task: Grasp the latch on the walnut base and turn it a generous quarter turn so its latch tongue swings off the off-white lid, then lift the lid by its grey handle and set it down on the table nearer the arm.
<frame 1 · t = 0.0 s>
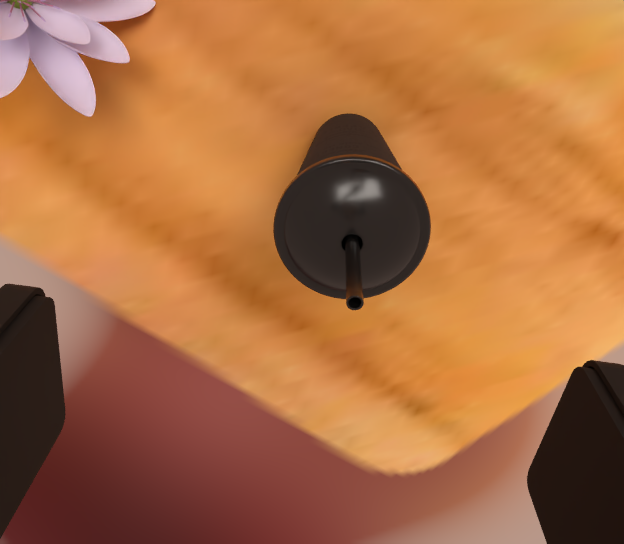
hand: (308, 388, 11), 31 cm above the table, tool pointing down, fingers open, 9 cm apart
drinking cup: (347, 147, 41), on the table
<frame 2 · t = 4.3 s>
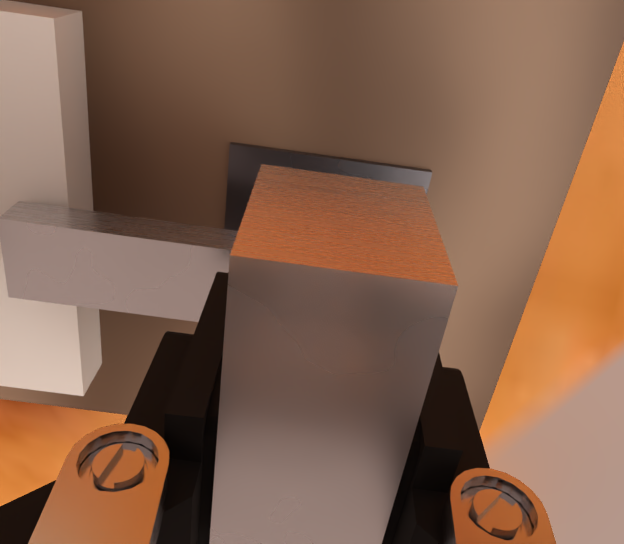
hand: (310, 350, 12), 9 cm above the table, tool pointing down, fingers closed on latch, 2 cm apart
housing: (138, 165, 19), on the table
latch: (167, 328, 12), point 9 cm above the table, hinge at 0.0°, touching gripper
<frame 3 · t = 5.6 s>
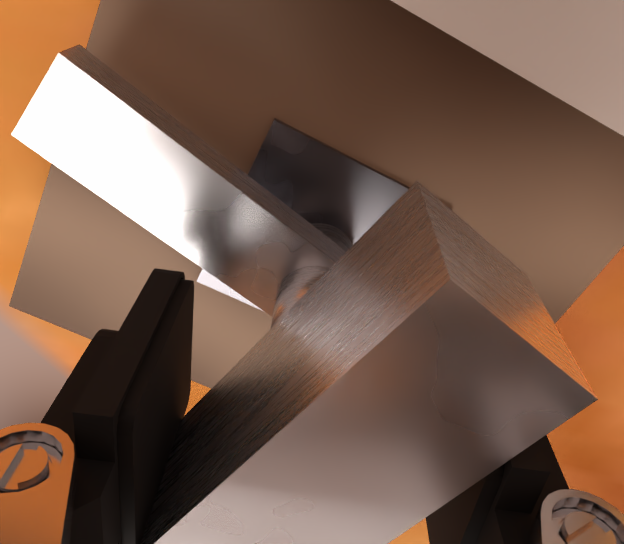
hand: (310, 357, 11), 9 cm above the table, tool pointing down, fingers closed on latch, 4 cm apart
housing: (422, 11, 16), on the table
latch: (193, 264, 11), point 9 cm above the table, hinge at 77.4°, touching gripper
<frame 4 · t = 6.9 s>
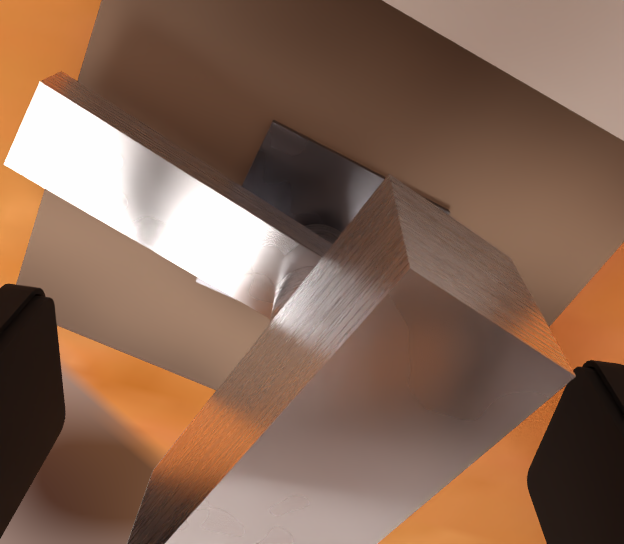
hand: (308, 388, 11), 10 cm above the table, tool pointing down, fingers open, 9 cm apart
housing: (420, 13, 16), on the table
latch: (185, 274, 11), point 9 cm above the table, hinge at 82.8°
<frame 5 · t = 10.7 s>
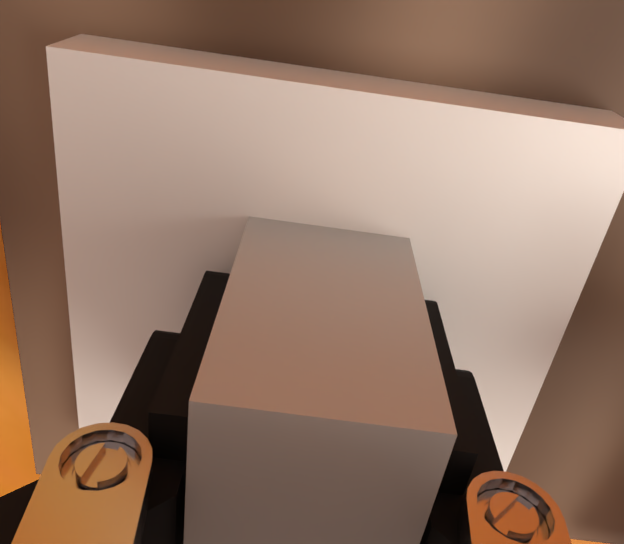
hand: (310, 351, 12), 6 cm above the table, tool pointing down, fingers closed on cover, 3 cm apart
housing: (489, 248, 17), on the table
cover: (314, 298, 13), point 4 cm above the table, touching gripper, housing
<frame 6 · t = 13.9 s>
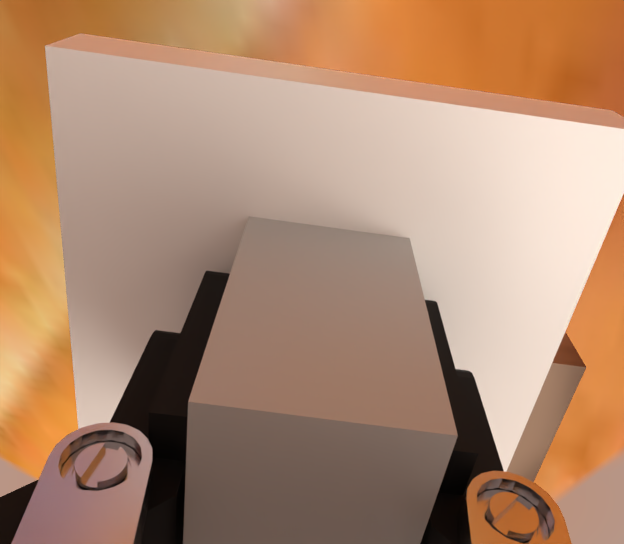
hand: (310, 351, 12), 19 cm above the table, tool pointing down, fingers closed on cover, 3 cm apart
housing: (334, 390, 37), on the table
cover: (314, 298, 13), point 17 cm above the table, touching gripper
when the fingers open (4 cm above the table, at t = 16.9 s): cover drops 2 cm, on the table.
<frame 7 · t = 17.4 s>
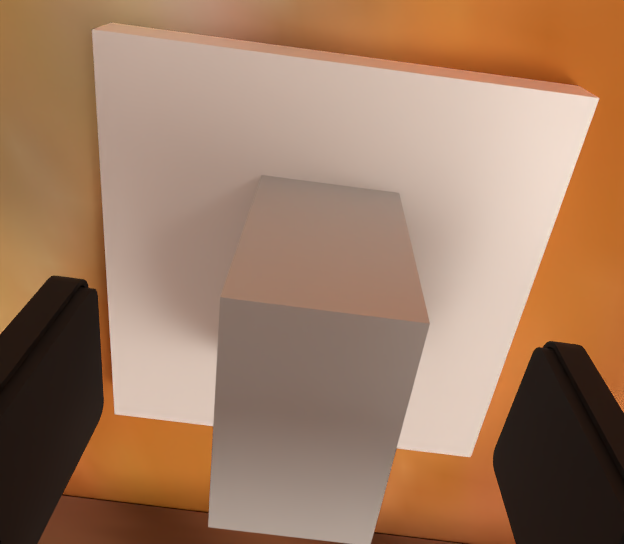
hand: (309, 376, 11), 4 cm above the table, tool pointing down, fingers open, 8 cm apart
cover: (318, 253, 15), on the table
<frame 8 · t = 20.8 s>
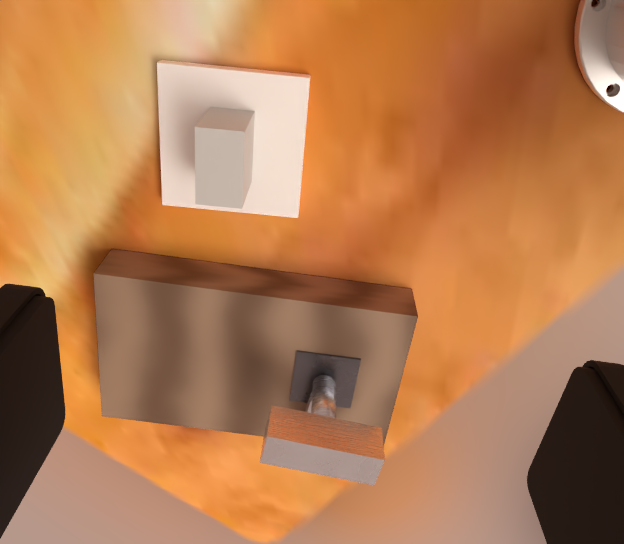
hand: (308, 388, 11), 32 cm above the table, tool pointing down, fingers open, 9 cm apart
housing: (255, 339, 50), on the table
cover: (235, 138, 42), on the table
latch: (313, 447, 44), point 9 cm above the table, hinge at 84.0°
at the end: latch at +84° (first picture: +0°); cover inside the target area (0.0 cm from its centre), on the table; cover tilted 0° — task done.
